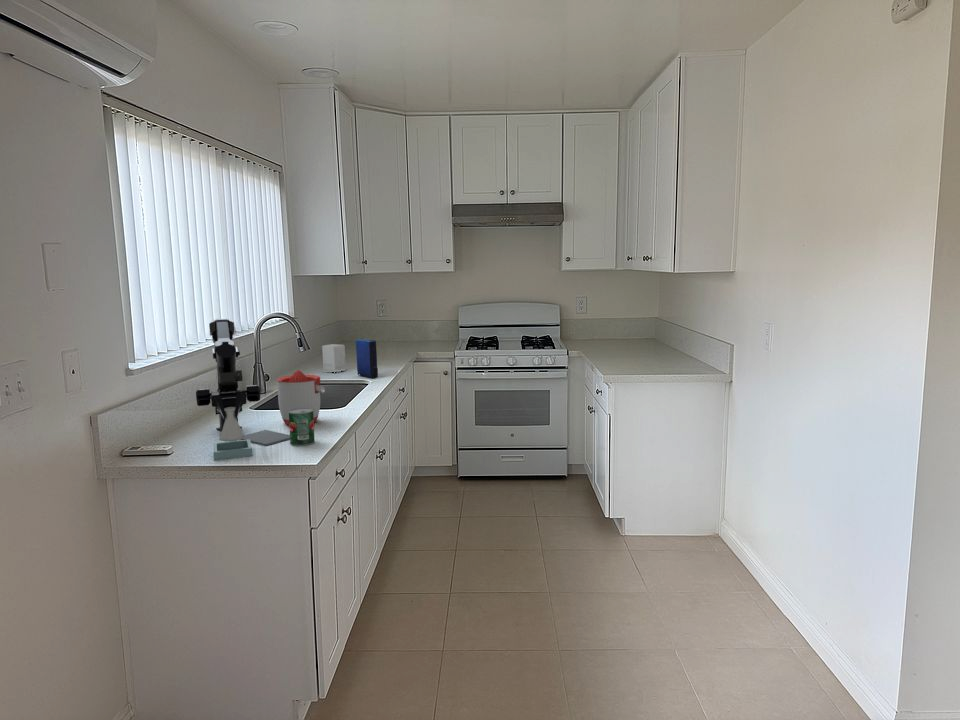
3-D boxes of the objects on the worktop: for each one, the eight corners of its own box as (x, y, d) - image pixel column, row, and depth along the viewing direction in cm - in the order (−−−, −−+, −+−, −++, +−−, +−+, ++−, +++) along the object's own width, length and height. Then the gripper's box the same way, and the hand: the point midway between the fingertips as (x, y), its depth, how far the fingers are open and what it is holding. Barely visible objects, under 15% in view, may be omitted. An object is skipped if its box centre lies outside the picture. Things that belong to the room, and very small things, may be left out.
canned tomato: (285, 443, 213) (283, 410, 211) (306, 438, 218) (304, 406, 217) (298, 447, 207) (296, 414, 206) (319, 442, 213) (318, 410, 212)
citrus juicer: (319, 428, 232) (316, 373, 230) (272, 427, 234) (269, 373, 231) (331, 417, 248) (329, 366, 245) (287, 417, 249) (285, 366, 246)
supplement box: (346, 371, 358) (345, 344, 356) (334, 373, 351) (333, 346, 349) (334, 370, 363) (333, 343, 361) (322, 372, 356) (321, 345, 353)
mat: (236, 439, 218) (235, 437, 218) (265, 431, 228) (265, 429, 228) (266, 446, 209) (266, 444, 209) (295, 437, 219) (295, 436, 219)
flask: (227, 435, 205) (225, 405, 204) (248, 436, 204) (246, 405, 202) (214, 441, 198) (212, 410, 197) (236, 442, 197) (234, 411, 195)
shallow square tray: (213, 450, 205) (213, 443, 204) (250, 446, 209) (249, 439, 208) (214, 460, 194) (213, 452, 194) (252, 455, 199) (252, 448, 198)
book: (379, 378, 336) (378, 339, 333) (371, 379, 332) (369, 340, 329) (364, 374, 346) (363, 337, 343) (355, 376, 342) (354, 338, 339)
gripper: (193, 363, 197) (195, 406, 189) (258, 360, 204) (262, 400, 196) (196, 384, 206) (198, 426, 197) (257, 380, 213) (262, 420, 205)
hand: (230, 417), depth 199 cm, fingers closed on flask, 3 cm apart
